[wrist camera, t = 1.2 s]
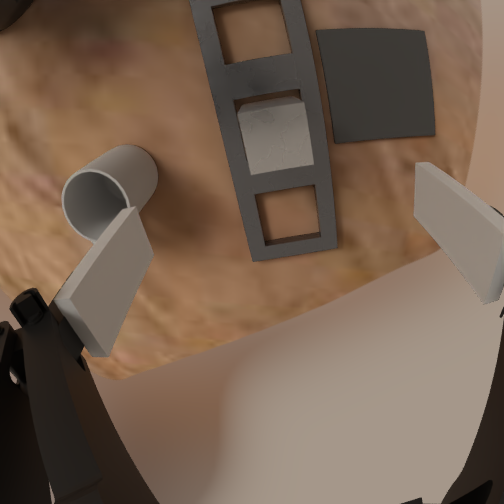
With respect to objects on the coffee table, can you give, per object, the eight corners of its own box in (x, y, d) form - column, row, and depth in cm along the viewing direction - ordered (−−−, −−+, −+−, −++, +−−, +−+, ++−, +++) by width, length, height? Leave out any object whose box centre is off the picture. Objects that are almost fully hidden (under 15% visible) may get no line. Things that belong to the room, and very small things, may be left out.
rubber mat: (315, 30, 24) (316, 30, 23) (422, 31, 22) (424, 31, 22) (334, 142, 30) (335, 143, 29) (433, 134, 28) (435, 135, 28)
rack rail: (190, -1, 22) (188, -4, 21) (292, -20, 21) (294, -24, 20) (252, 256, 37) (252, 261, 36) (335, 242, 36) (337, 248, 35)
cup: (166, 152, 31) (137, 180, 23) (148, 230, 36) (122, 275, 28) (107, 136, 29) (64, 160, 22) (96, 214, 35) (60, 253, 27)
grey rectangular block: (242, 104, 28) (237, 113, 21) (292, 95, 27) (304, 102, 21) (252, 150, 31) (250, 175, 24) (300, 142, 30) (313, 164, 23)
